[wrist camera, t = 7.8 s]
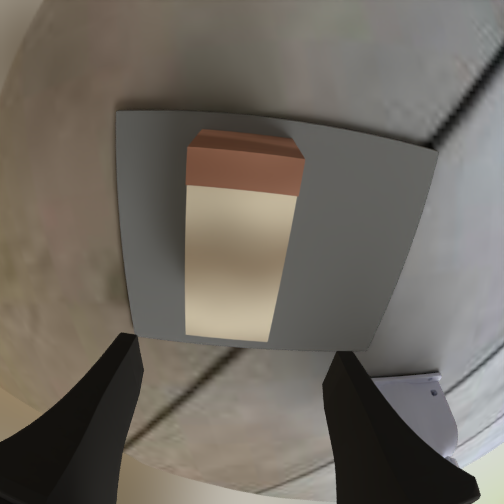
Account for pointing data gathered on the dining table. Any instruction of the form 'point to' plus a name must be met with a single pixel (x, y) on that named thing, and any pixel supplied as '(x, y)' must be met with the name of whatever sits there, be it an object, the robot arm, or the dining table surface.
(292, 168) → the brown and cream block
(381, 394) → the robot arm
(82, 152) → the dining table surface
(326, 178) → the rubber mat
